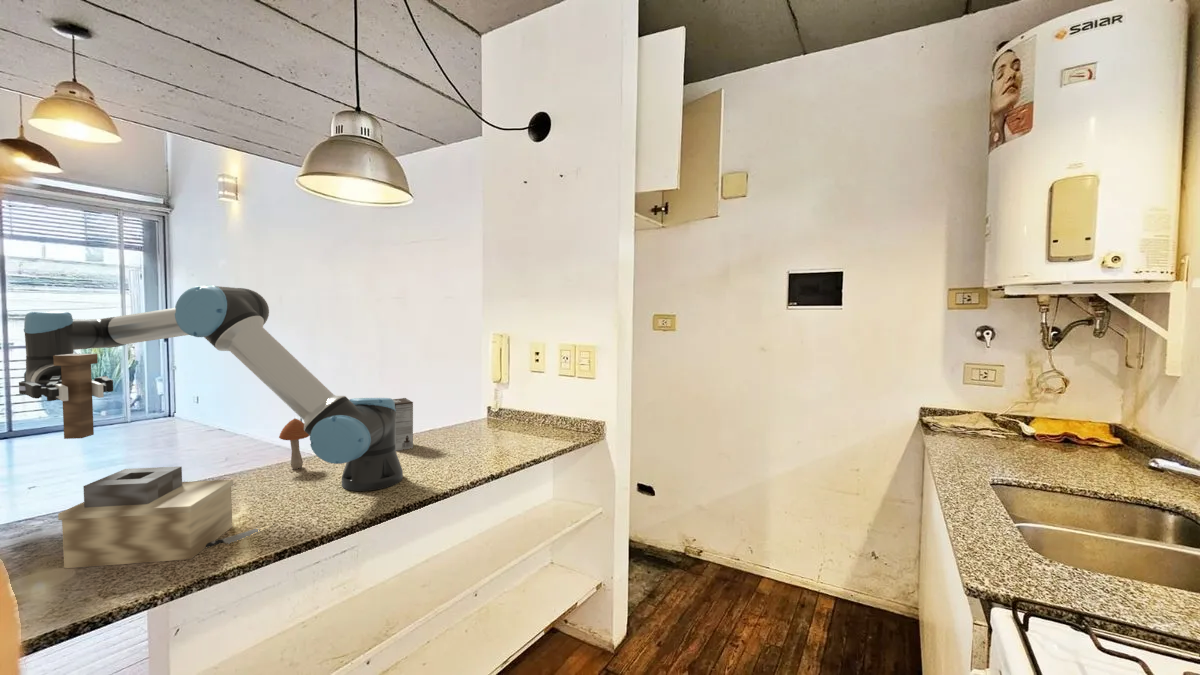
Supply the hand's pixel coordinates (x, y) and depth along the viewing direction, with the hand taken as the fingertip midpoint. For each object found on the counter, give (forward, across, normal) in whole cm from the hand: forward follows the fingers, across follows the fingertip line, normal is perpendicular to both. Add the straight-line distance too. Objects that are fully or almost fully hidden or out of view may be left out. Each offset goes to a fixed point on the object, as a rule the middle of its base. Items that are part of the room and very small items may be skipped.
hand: (83, 392), depth 97 cm
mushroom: (-14, -45, -30) cm, 56 cm away
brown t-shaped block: (-5, 0, -10) cm, 11 cm away
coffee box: (-10, -77, -30) cm, 83 cm away
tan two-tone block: (+14, -7, -30) cm, 34 cm away
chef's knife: (+23, -18, -30) cm, 42 cm away
